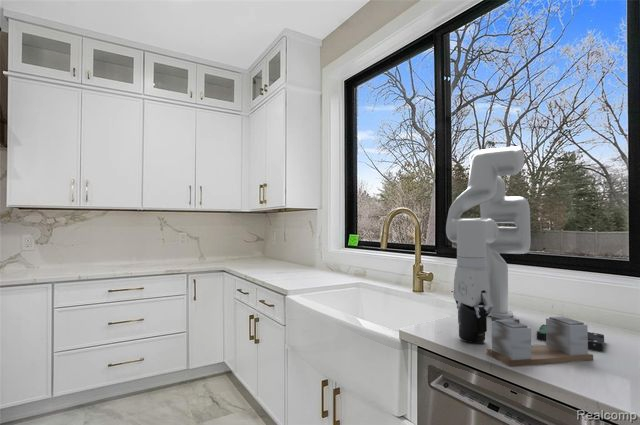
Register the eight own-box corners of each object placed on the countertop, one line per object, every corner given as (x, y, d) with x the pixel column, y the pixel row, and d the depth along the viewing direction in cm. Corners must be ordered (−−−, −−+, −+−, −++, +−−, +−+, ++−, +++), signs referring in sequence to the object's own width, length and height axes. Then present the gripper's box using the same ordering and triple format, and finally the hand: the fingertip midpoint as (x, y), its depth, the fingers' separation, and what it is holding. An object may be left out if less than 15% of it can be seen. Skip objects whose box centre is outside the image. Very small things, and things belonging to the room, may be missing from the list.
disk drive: (604, 344, 99) (541, 332, 108) (604, 334, 99) (542, 323, 108) (603, 354, 91) (536, 340, 100) (603, 343, 91) (536, 330, 100)
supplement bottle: (453, 336, 100) (453, 293, 100) (472, 333, 103) (471, 292, 103) (471, 344, 94) (471, 299, 94) (491, 341, 96) (491, 297, 96)
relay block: (491, 333, 106) (491, 316, 106) (499, 331, 108) (499, 314, 108) (511, 339, 101) (511, 321, 101) (519, 336, 103) (519, 319, 103)
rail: (486, 353, 88) (486, 319, 89) (564, 348, 93) (563, 315, 94) (510, 366, 81) (510, 328, 81) (593, 359, 85) (592, 323, 86)
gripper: (442, 259, 106) (442, 319, 106) (479, 267, 89) (480, 339, 89) (464, 259, 108) (465, 318, 108) (505, 266, 91) (506, 336, 91)
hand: (471, 327), depth 98 cm, fingers closed on supplement bottle, 6 cm apart
